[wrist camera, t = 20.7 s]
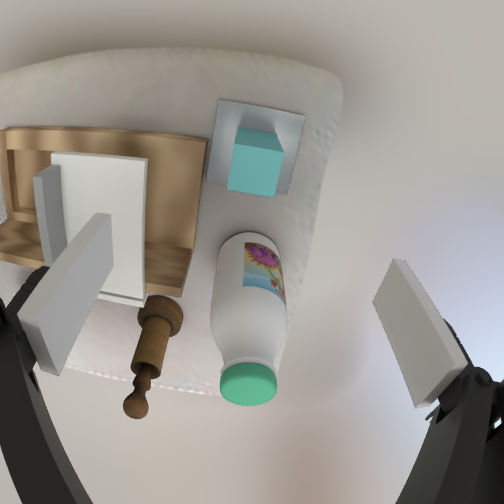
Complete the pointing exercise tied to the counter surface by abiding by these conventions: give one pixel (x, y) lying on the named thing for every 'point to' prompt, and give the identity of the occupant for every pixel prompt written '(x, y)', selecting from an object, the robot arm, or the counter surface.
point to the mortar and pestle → (151, 349)
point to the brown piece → (157, 193)
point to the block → (255, 162)
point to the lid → (87, 204)
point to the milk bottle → (248, 317)
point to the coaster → (255, 119)
